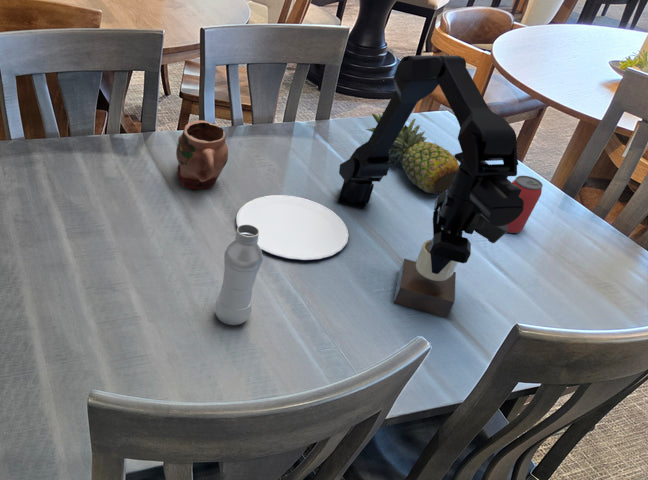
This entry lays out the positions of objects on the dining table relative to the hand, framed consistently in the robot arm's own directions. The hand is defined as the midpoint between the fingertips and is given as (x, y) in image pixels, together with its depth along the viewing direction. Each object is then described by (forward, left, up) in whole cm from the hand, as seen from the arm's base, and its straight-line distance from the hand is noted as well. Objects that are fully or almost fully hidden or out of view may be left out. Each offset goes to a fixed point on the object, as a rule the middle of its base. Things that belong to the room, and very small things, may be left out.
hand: (435, 262), depth 121 cm
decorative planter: (-54, +20, -8) cm, 58 cm away
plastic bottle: (-33, -23, -8) cm, 41 cm away
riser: (0, 0, -8) cm, 8 cm away
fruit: (-7, +52, -8) cm, 53 cm away
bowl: (0, 0, -2) cm, 2 cm away
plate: (-29, +11, -8) cm, 32 cm away
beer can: (+17, +35, -8) cm, 40 cm away
